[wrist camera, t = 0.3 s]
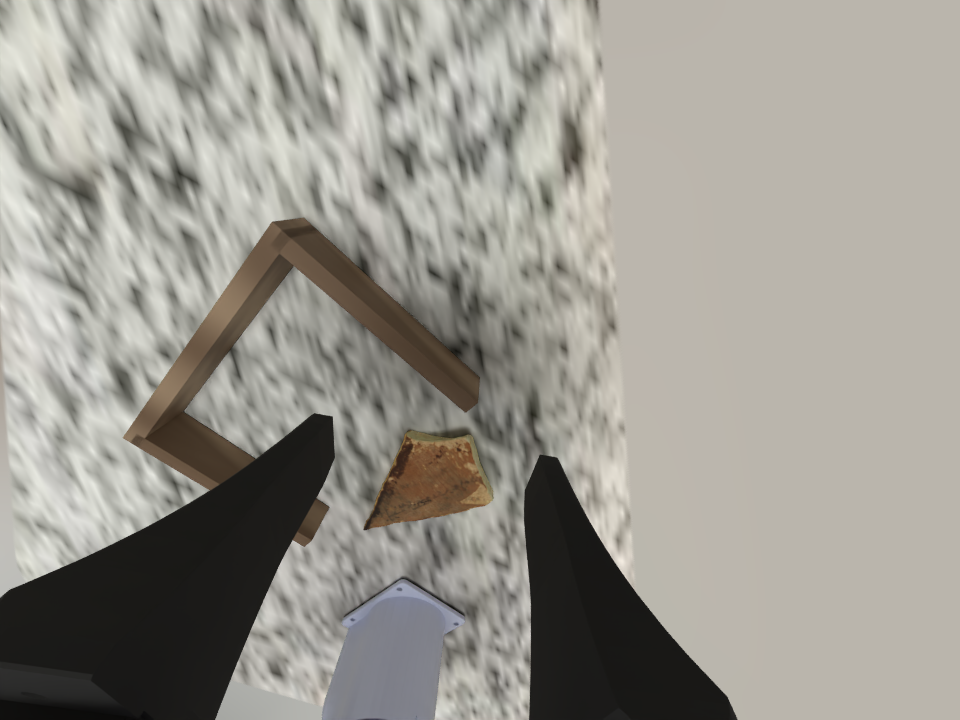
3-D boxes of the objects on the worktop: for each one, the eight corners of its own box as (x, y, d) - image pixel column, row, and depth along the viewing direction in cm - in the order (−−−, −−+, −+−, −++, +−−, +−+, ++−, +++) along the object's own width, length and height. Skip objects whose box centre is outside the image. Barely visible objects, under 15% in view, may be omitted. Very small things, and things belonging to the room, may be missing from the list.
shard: (369, 515, 29) (362, 534, 28) (327, 443, 26) (316, 460, 25) (495, 491, 28) (495, 510, 26) (466, 412, 25) (464, 427, 23)
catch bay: (322, 513, 29) (304, 546, 26) (163, 411, 25) (122, 438, 22) (479, 377, 23) (477, 402, 20) (303, 217, 19) (272, 221, 16)
